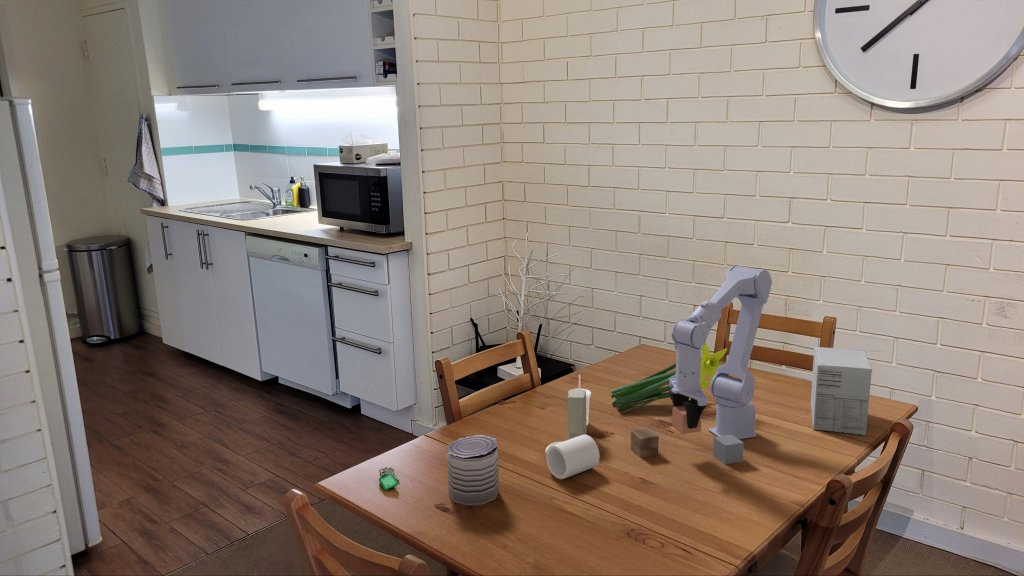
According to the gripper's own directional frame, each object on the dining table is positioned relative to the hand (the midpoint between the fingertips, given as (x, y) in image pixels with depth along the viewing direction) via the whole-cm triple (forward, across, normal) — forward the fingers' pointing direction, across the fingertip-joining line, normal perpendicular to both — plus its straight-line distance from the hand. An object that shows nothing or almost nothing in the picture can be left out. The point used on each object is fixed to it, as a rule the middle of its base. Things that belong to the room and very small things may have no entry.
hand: (686, 423), depth 183 cm
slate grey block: (+8, +5, +9) cm, 13 cm away
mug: (+9, -3, -30) cm, 31 cm away
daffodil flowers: (+9, -30, +11) cm, 33 cm away
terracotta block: (+1, 0, 0) cm, 1 cm away
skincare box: (+9, -19, -21) cm, 30 cm away
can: (+9, +1, -54) cm, 55 cm away
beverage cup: (+9, -27, -17) cm, 33 cm away
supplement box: (+9, -5, +49) cm, 50 cm away
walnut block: (+8, -5, -9) cm, 13 cm away
